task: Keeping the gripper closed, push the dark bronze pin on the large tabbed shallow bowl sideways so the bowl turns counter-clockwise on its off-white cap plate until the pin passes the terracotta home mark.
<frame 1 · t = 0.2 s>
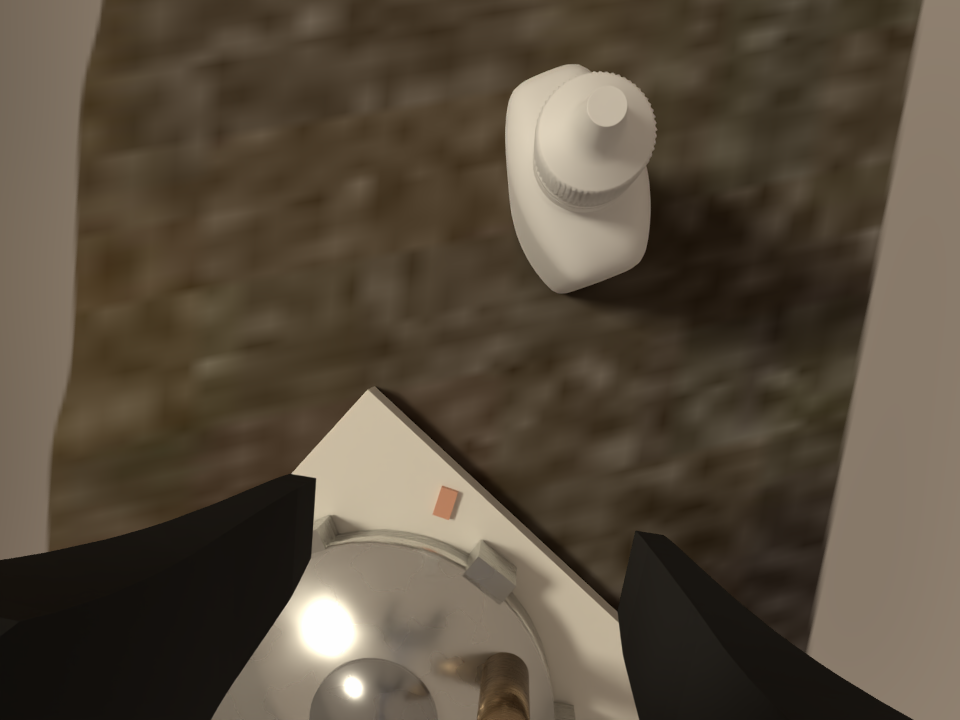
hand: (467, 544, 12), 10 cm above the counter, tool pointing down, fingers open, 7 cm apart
cap plate: (390, 673, 23), on the counter
eye dropper bottle: (557, 222, 21), on the counter
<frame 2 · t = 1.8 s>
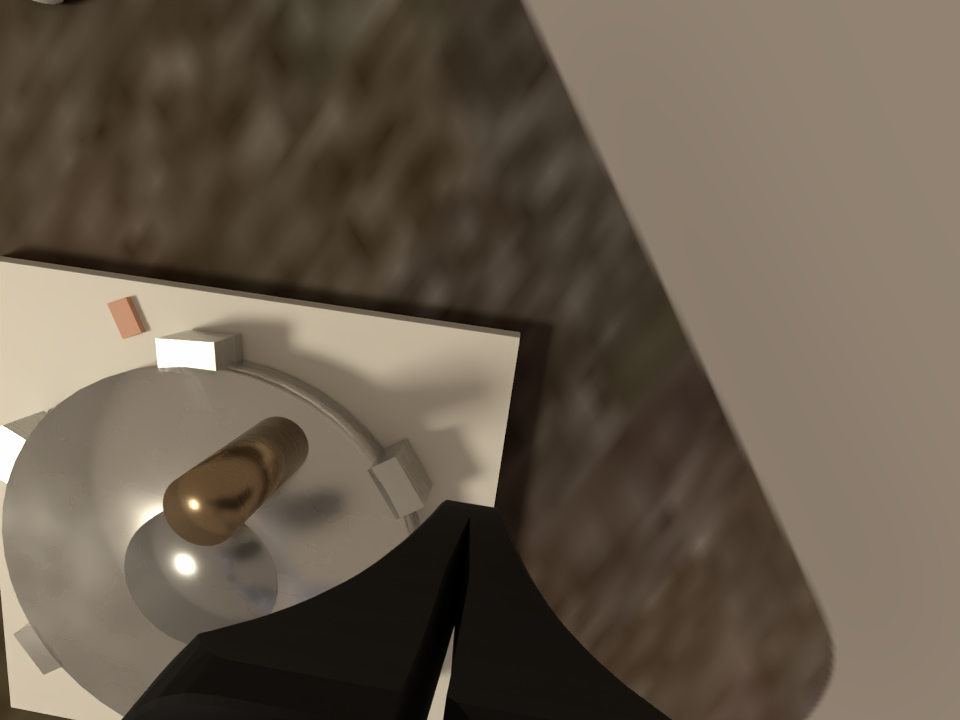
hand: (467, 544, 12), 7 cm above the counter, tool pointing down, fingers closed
cap plate: (245, 532, 20), on the counter
tabbed shallow bowl: (179, 600, 16), point 4 cm above the counter, hinge at 0.0°
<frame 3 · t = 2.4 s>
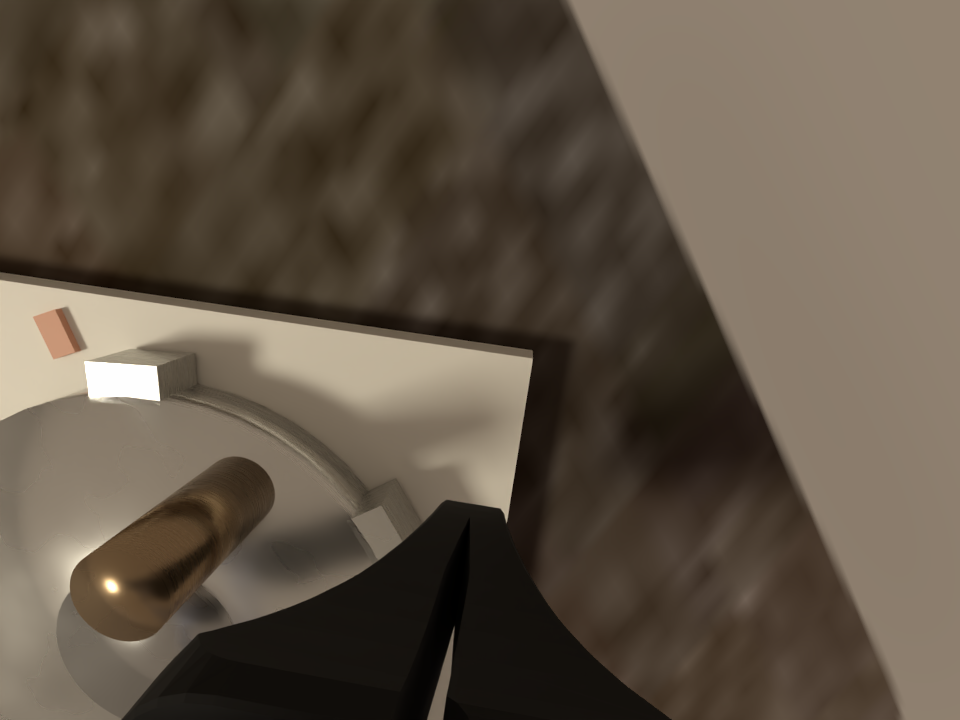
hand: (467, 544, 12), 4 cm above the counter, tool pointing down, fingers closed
cap plate: (208, 582, 17), on the counter
tabbed shallow bowl: (118, 680, 13), point 4 cm above the counter, hinge at 0.0°
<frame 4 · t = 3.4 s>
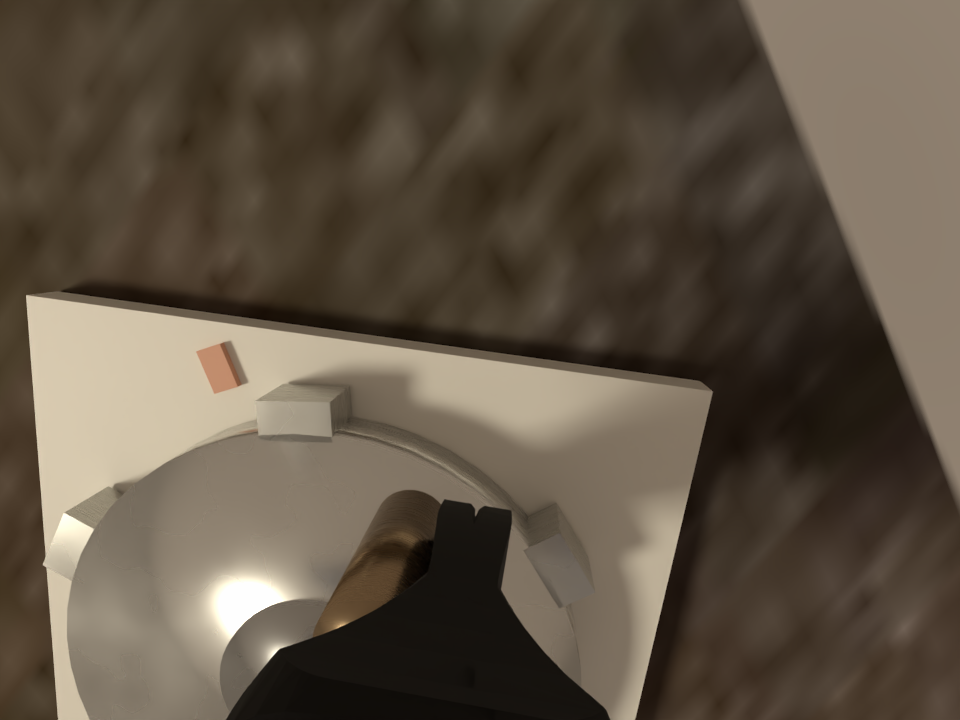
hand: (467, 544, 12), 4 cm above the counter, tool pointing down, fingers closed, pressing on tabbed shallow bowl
cap plate: (347, 614, 17), on the counter
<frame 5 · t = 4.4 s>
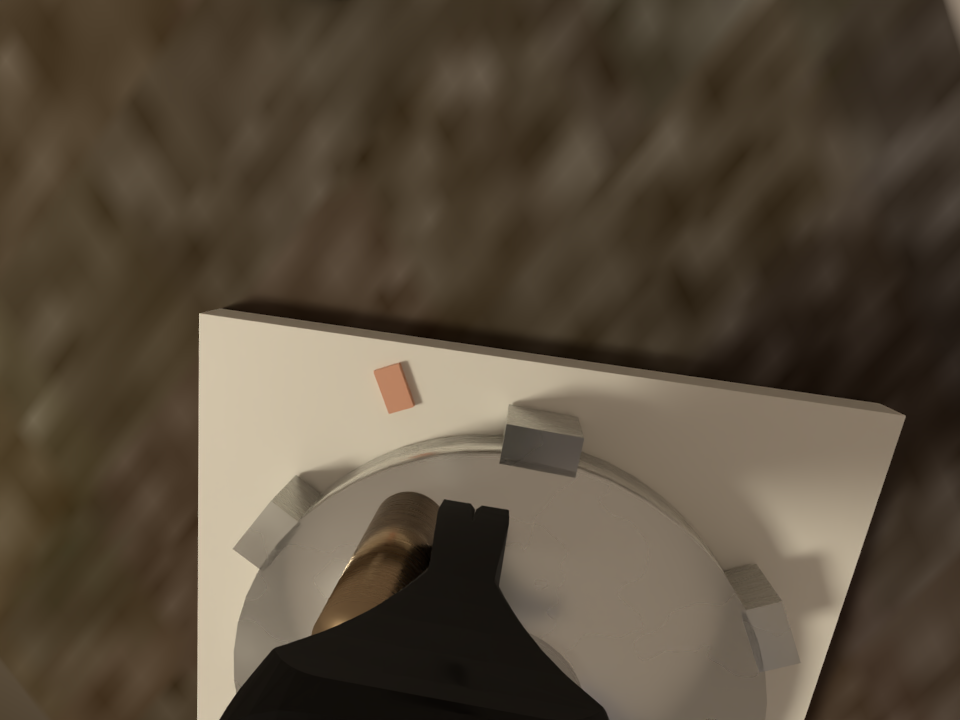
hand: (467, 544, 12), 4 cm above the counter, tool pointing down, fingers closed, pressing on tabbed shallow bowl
cap plate: (494, 633, 17), on the counter
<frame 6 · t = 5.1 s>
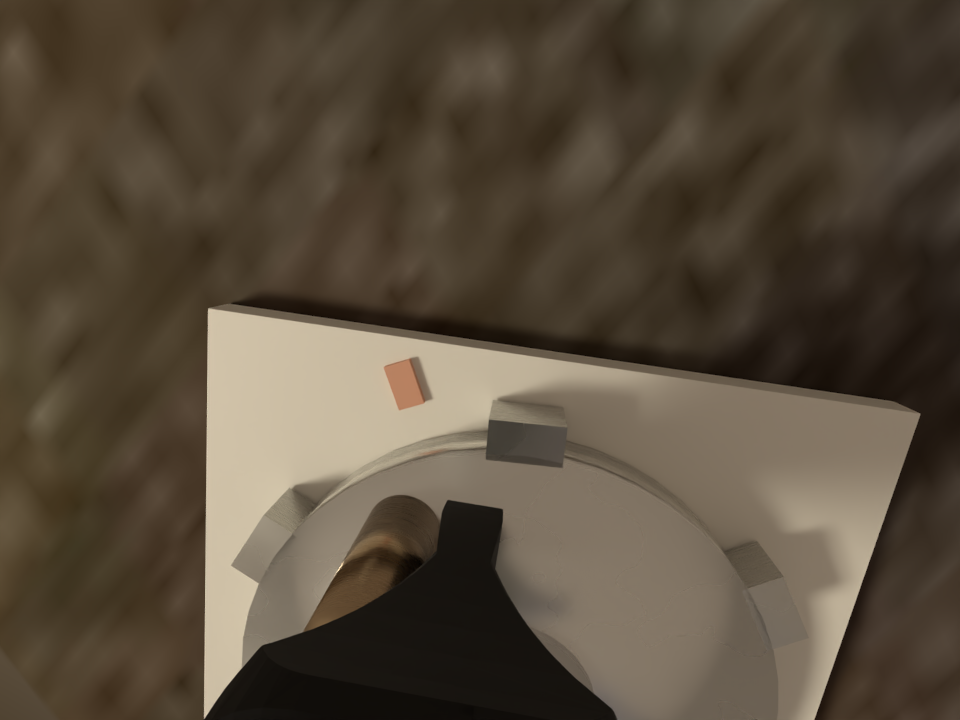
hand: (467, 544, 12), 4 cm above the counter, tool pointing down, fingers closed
cap plate: (503, 631, 16), on the counter
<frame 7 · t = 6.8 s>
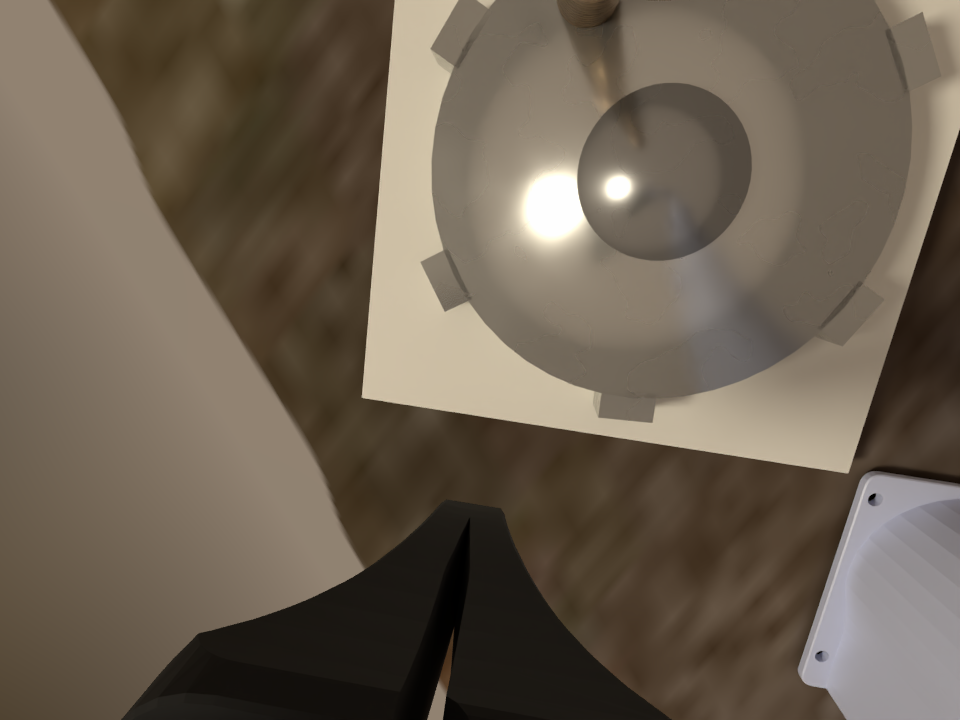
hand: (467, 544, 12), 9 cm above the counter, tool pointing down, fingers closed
cap plate: (642, 184, 19), on the counter
tabbed shallow bowl: (671, 171, 15), point 4 cm above the counter, hinge at 58.3°
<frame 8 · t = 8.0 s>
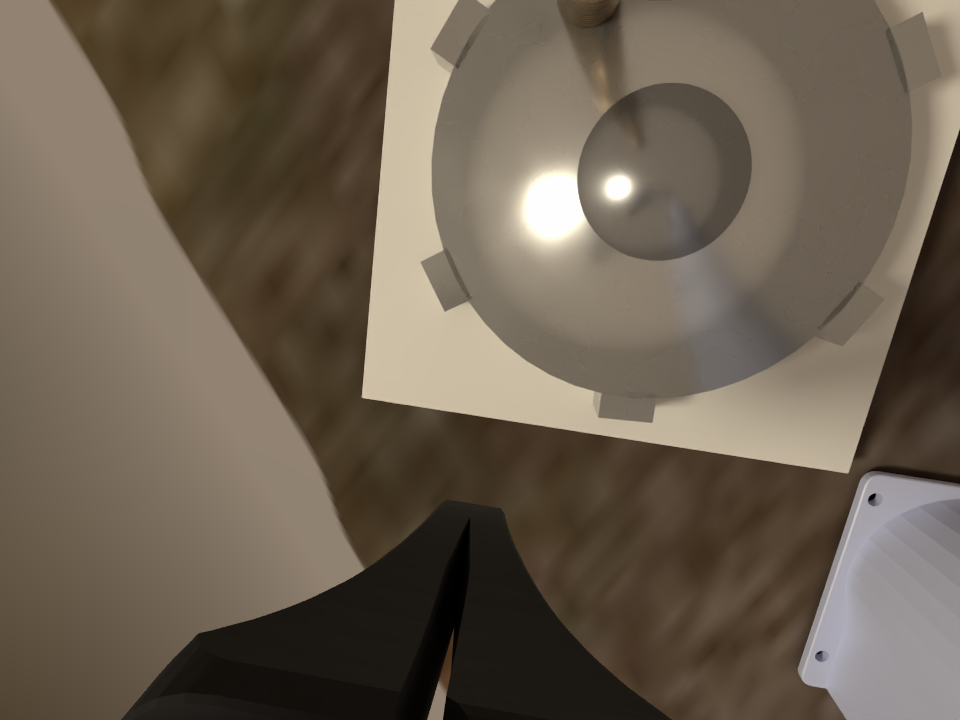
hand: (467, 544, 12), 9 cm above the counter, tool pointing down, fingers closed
cap plate: (642, 184, 19), on the counter
tabbed shallow bowl: (671, 171, 15), point 4 cm above the counter, hinge at 58.3°
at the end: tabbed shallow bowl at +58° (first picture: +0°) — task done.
